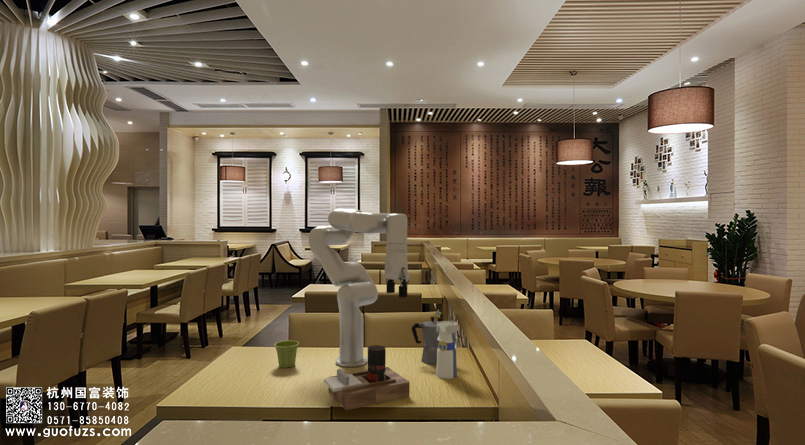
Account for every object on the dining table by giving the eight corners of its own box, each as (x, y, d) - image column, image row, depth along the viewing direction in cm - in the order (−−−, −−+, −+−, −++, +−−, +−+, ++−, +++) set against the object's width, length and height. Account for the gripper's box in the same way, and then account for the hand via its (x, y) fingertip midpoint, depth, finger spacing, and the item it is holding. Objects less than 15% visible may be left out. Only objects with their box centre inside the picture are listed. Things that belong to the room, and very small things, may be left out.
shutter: (323, 381, 144) (323, 370, 144) (351, 376, 148) (351, 366, 148) (333, 391, 135) (333, 380, 135) (362, 386, 140) (362, 375, 140)
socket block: (328, 392, 148) (328, 374, 148) (387, 380, 158) (387, 364, 158) (345, 410, 134) (345, 391, 134) (409, 397, 144) (409, 379, 144)
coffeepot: (444, 356, 187) (444, 313, 187) (451, 363, 178) (451, 318, 178) (408, 358, 184) (408, 315, 183) (414, 365, 174) (414, 320, 174)
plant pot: (269, 367, 172) (269, 345, 172) (284, 360, 180) (284, 339, 180) (289, 371, 168) (289, 348, 168) (303, 363, 177) (303, 341, 177)
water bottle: (452, 380, 159) (453, 311, 158) (431, 376, 163) (431, 308, 163) (462, 374, 166) (462, 307, 165) (441, 369, 170) (442, 304, 170)
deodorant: (367, 389, 150) (367, 345, 150) (384, 389, 151) (385, 345, 151) (367, 396, 145) (367, 350, 144) (385, 396, 145) (385, 350, 145)
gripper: (377, 246, 166) (377, 292, 167) (398, 249, 151) (398, 299, 151) (395, 246, 170) (395, 290, 170) (417, 249, 155) (417, 298, 155)
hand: (396, 294), depth 161 cm, fingers open, 9 cm apart
